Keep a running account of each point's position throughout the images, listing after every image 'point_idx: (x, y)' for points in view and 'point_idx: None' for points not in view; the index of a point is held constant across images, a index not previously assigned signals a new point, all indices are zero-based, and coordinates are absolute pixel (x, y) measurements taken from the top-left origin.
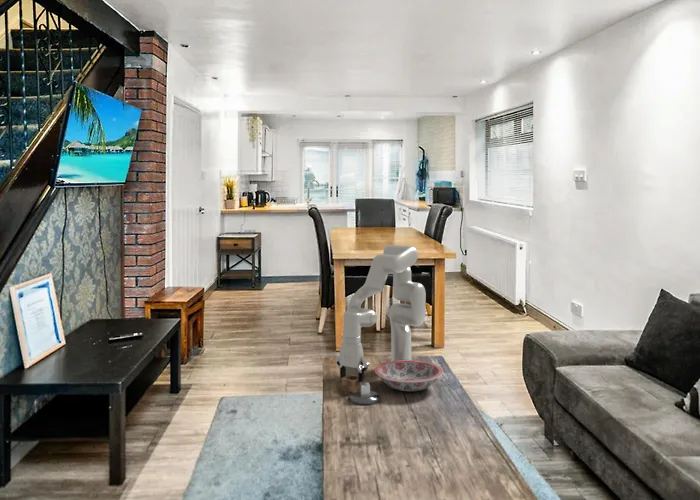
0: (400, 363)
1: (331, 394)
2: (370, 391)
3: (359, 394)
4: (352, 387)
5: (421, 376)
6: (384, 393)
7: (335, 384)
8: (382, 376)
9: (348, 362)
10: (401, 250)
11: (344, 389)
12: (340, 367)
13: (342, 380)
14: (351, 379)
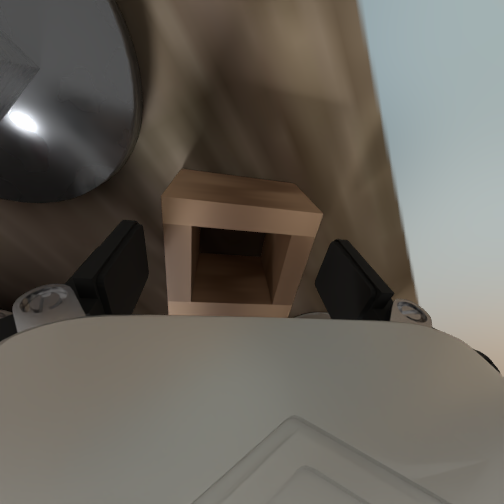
0: None
1: (334, 44)
2: (45, 195)
3: (49, 72)
4: (199, 181)
5: None
6: (19, 251)
7: (360, 243)
8: None
9: (278, 420)
10: None
11: (273, 181)
12: (400, 311)
13: (308, 206)
14: (268, 281)
